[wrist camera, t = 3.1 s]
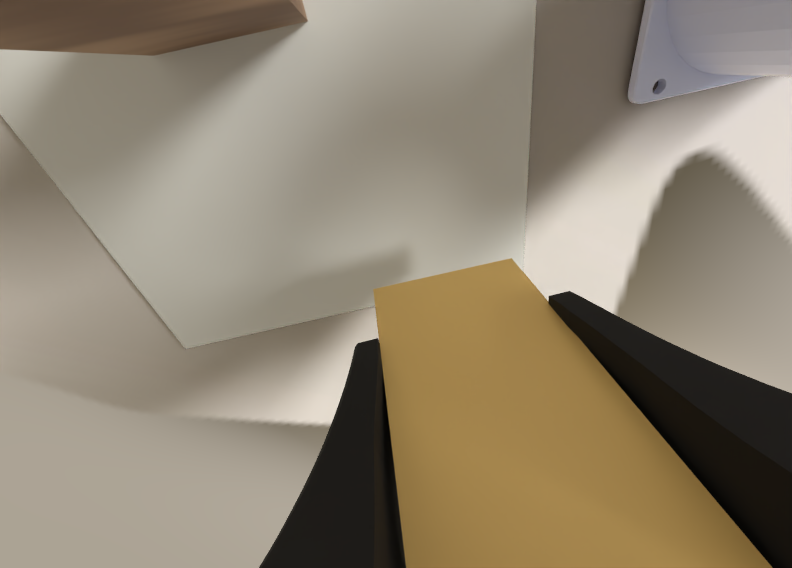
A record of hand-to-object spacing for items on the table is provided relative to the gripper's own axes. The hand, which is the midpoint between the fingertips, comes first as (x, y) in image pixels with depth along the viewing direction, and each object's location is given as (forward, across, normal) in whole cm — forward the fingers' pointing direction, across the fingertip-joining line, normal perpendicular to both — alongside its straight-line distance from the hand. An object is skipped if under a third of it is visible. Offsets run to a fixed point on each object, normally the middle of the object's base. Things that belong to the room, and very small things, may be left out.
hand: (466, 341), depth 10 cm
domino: (+3, 0, 0) cm, 3 cm away
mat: (+7, +4, -14) cm, 16 cm away
